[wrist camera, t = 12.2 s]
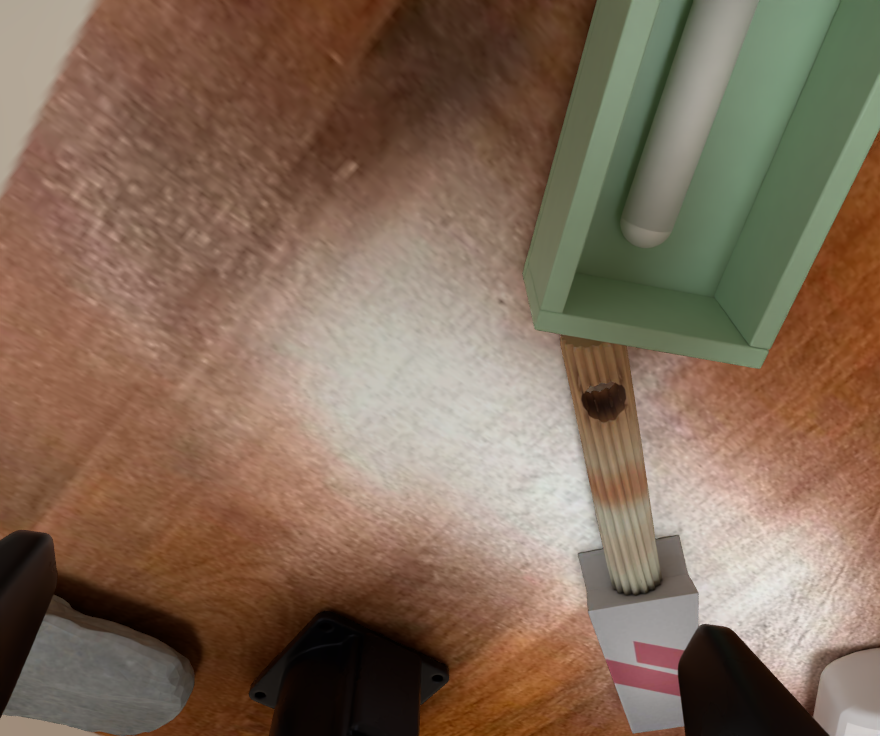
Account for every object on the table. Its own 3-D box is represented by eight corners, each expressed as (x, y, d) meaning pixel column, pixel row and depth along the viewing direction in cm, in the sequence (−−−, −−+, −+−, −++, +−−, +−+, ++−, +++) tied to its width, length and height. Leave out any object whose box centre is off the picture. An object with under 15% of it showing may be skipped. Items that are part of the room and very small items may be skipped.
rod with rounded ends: (670, 249, 20) (653, 260, 19) (624, 231, 21) (605, 242, 20) (786, -54, 16) (774, -61, 15) (725, -66, 17) (709, -74, 16)
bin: (718, 310, 22) (760, 370, 19) (521, 274, 22) (533, 330, 19) (909, -124, 16) (1013, -136, 13) (648, -189, 16) (695, -215, 13)
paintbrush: (701, 690, 32) (643, 296, 22) (721, 751, 30) (666, 340, 20) (614, 704, 33) (518, 326, 22) (627, 764, 30) (526, 373, 20)
